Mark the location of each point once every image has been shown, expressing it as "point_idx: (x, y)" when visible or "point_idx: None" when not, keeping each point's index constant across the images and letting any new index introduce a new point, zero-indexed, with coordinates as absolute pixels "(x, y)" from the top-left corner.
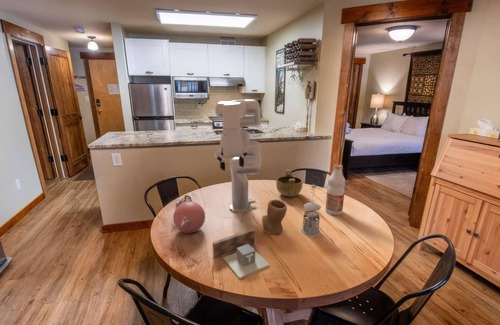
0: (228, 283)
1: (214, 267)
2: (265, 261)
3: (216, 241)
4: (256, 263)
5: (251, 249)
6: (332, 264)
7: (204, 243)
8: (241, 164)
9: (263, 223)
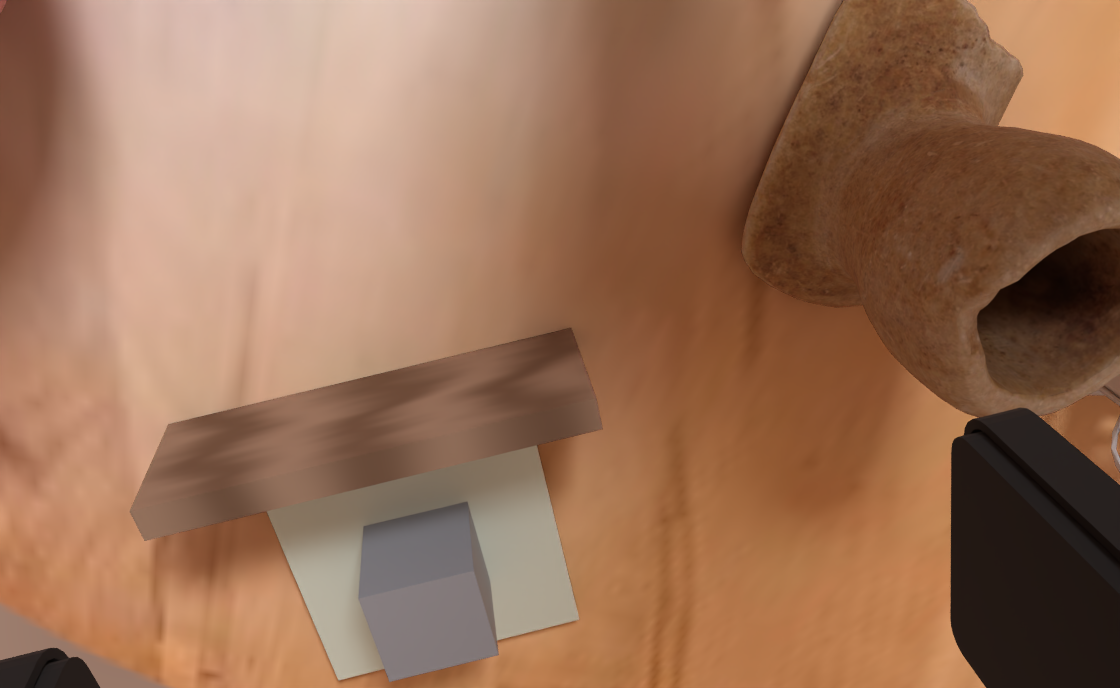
0: (260, 685)
1: (172, 542)
2: (564, 588)
3: (172, 510)
4: (494, 594)
5: (474, 637)
6: (948, 666)
7: (79, 211)
8: (1007, 674)
9: (802, 126)
